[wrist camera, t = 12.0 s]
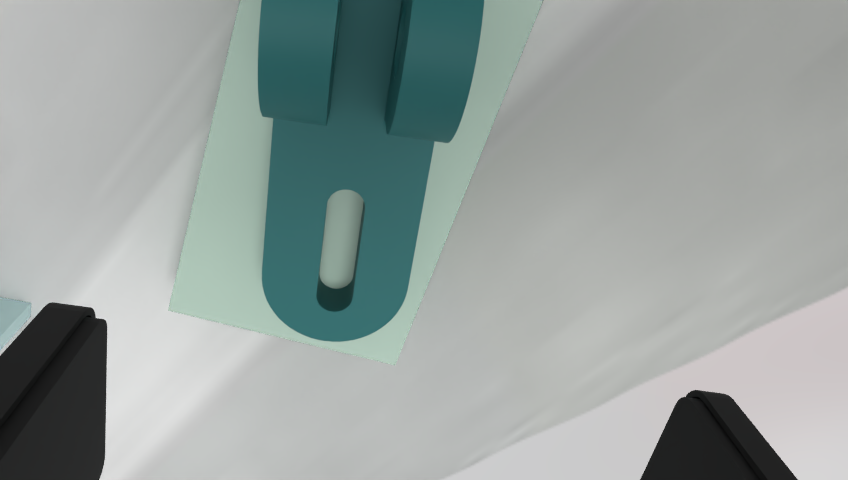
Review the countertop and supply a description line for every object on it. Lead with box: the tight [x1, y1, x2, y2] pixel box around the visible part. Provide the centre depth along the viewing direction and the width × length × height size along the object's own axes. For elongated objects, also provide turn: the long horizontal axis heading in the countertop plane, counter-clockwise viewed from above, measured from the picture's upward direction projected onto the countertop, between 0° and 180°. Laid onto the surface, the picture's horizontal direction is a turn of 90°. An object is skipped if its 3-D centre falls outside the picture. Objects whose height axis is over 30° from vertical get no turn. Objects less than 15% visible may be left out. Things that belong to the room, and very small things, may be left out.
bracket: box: [258, 0, 484, 342], centre depth 25 cm, size 18×7×8 cm, turn 170°
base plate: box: [168, 0, 543, 365], centre depth 31 cm, size 12×22×4 cm, turn 160°
